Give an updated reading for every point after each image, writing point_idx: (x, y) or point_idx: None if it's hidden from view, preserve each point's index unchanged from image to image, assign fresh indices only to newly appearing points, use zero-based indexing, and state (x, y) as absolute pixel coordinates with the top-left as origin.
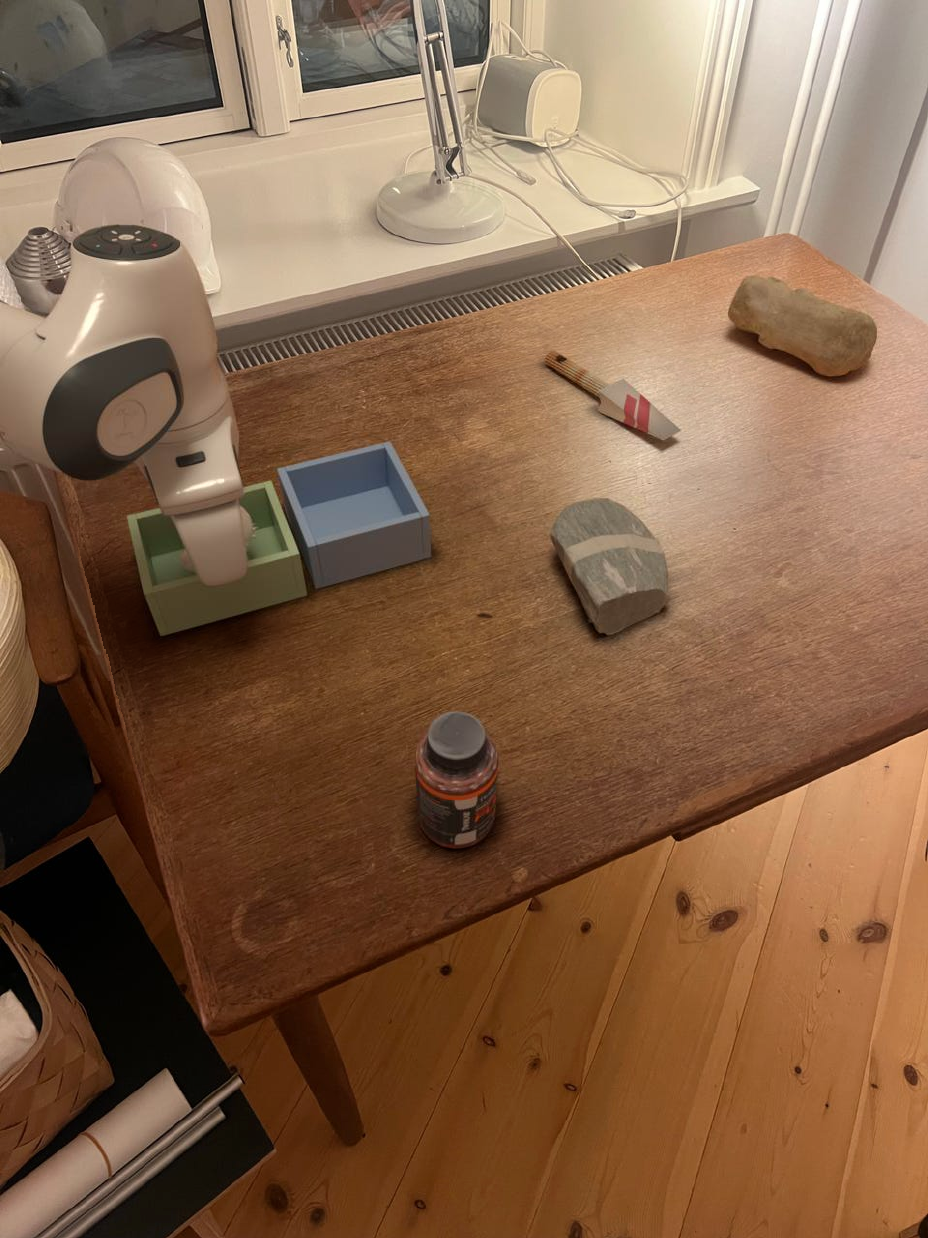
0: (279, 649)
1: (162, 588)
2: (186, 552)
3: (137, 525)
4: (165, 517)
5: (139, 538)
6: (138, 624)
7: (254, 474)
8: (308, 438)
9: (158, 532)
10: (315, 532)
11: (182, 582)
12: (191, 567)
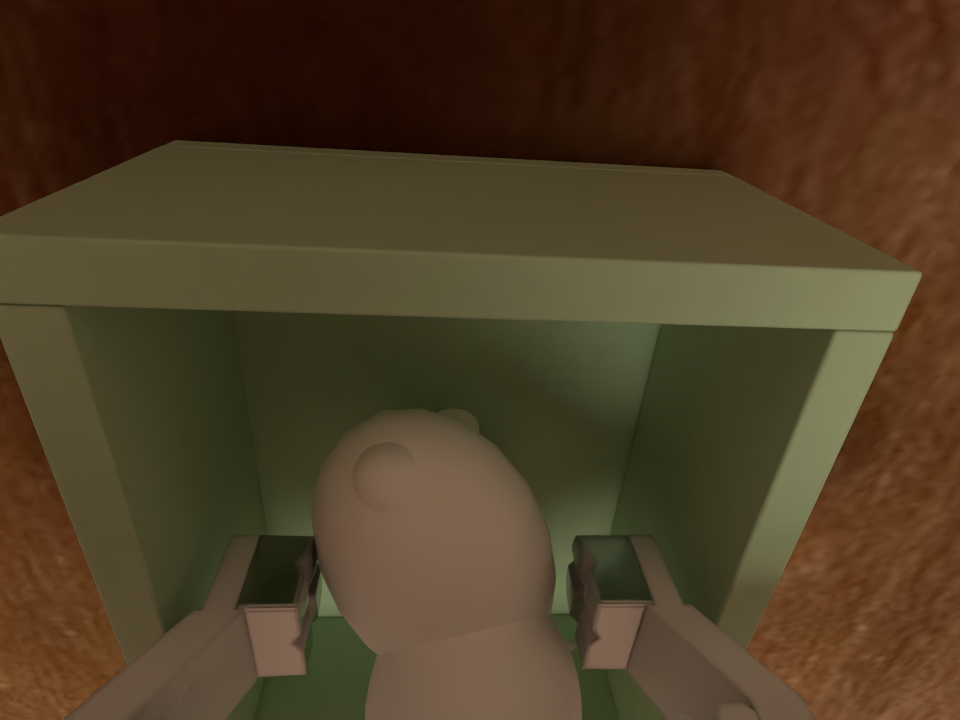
0: (33, 517)
1: (23, 367)
2: (416, 494)
3: (767, 325)
4: (750, 457)
5: (625, 314)
6: (289, 47)
7: (861, 594)
8: (884, 712)
9: (727, 347)
10: None
11: (76, 479)
12: (335, 468)
